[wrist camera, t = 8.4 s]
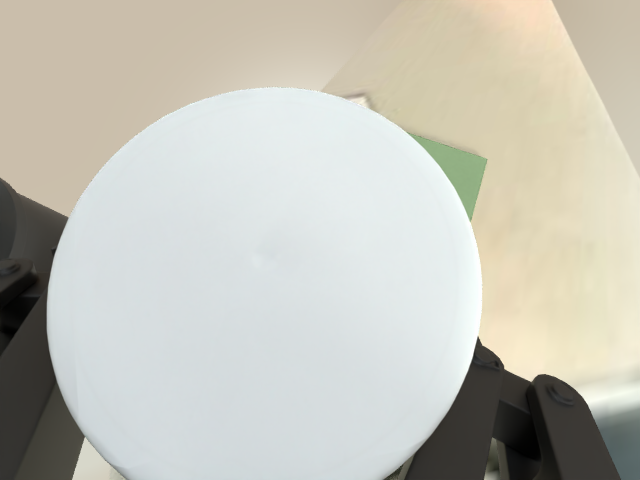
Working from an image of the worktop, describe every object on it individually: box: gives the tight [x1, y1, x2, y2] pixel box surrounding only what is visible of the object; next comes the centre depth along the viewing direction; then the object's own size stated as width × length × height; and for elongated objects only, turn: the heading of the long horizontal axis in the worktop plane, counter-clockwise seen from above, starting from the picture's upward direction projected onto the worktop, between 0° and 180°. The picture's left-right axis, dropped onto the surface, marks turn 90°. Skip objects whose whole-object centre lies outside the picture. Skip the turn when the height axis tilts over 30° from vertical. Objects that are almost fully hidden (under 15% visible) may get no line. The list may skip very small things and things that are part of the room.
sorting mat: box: [406, 132, 487, 222], centre depth 34 cm, size 15×14×1 cm
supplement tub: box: [47, 87, 482, 480], centre depth 13 cm, size 10×10×15 cm
